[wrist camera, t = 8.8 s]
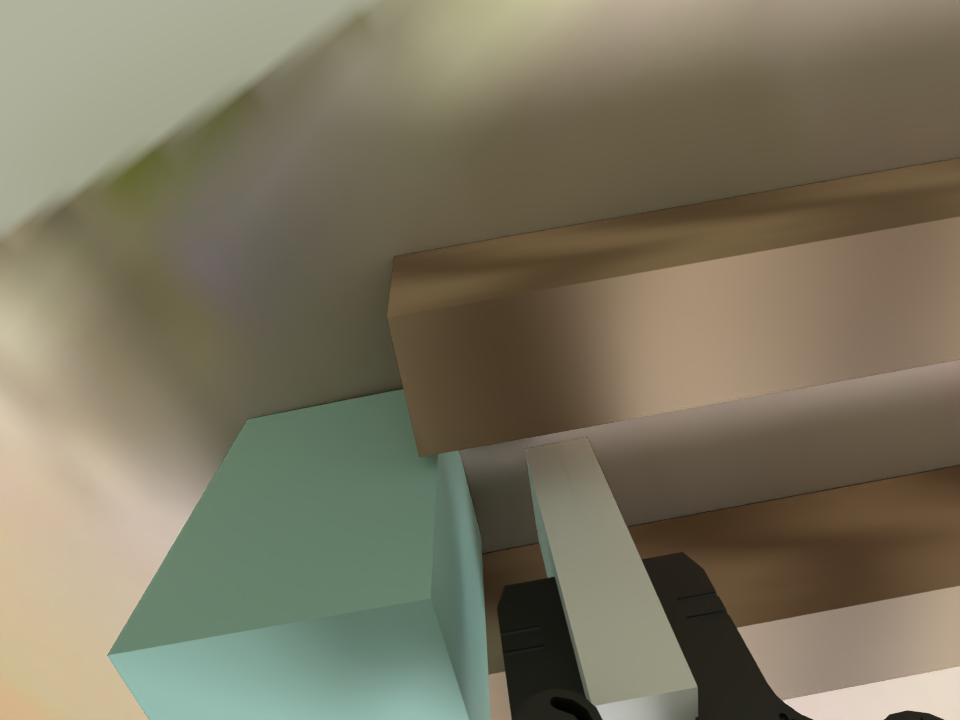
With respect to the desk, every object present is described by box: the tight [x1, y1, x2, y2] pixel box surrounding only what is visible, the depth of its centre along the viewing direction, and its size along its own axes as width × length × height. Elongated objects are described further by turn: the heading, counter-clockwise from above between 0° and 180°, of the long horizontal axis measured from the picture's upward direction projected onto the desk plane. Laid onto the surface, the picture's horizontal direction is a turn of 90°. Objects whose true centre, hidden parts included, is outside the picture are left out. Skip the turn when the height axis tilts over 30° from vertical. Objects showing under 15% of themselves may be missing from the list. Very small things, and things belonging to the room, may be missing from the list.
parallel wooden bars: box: [387, 158, 960, 720], centre depth 15 cm, size 18×12×4 cm, turn 99°
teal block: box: [107, 389, 491, 720], centre depth 14 cm, size 5×5×7 cm
